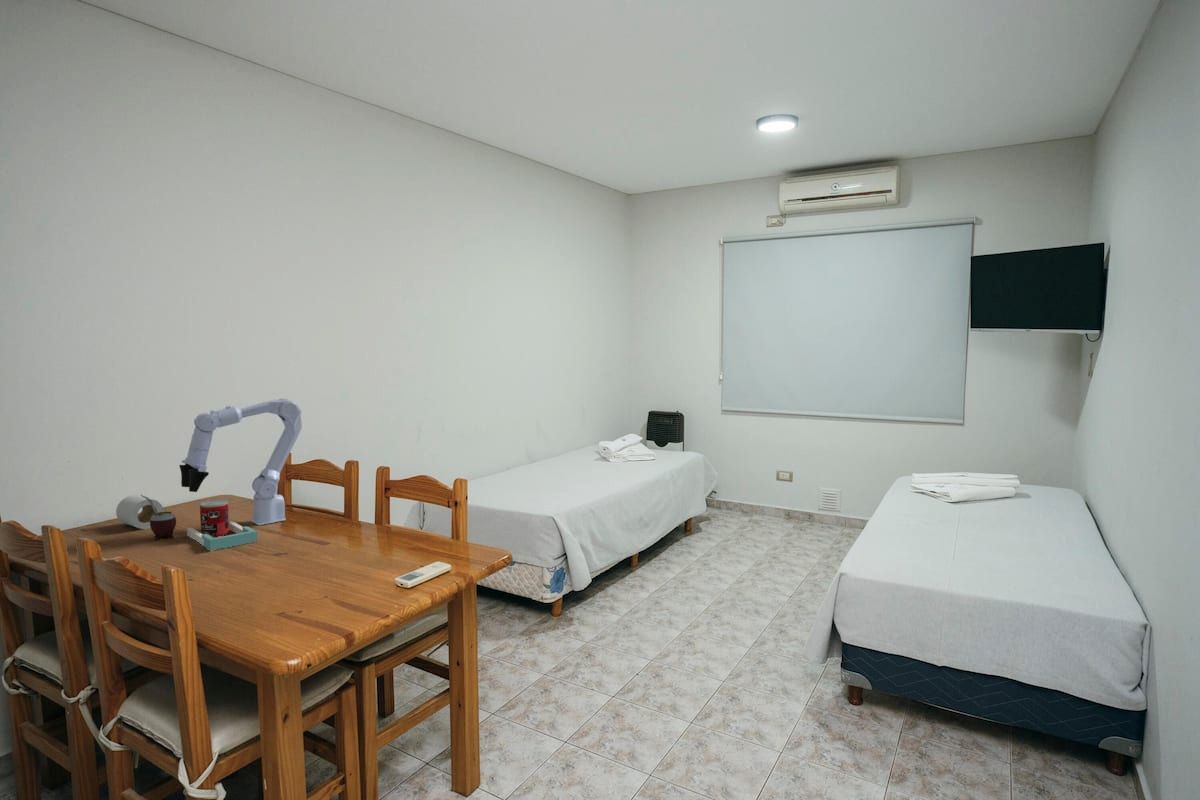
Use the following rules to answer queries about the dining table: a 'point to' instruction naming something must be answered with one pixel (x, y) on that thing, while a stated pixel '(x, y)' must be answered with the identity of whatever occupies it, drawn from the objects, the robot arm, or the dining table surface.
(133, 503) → the toilet paper
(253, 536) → the teal white rectangular tray
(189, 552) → the dining table surface
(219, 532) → the canned food
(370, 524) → the dining table surface
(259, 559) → the dining table surface
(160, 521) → the mate gourd
